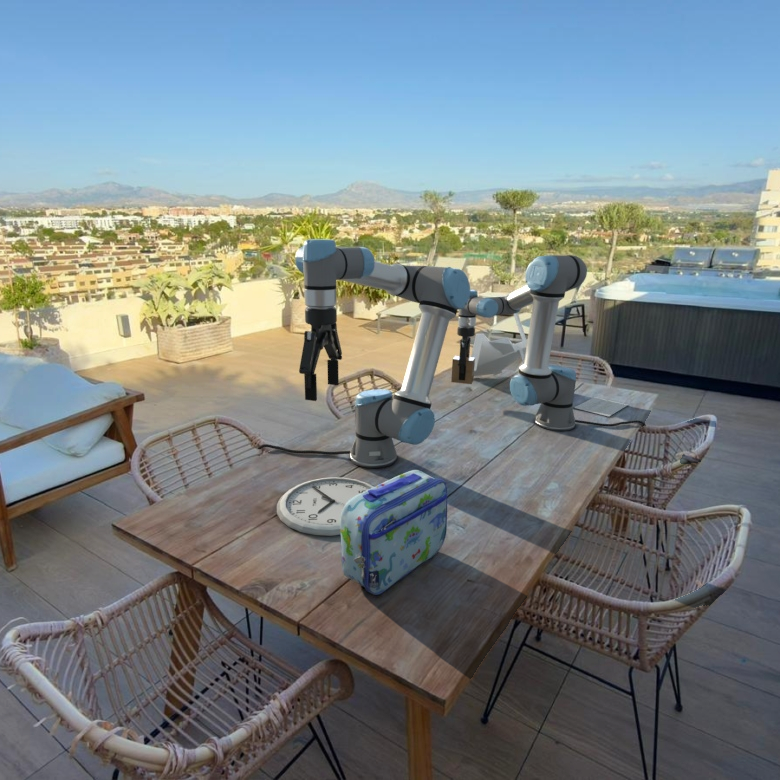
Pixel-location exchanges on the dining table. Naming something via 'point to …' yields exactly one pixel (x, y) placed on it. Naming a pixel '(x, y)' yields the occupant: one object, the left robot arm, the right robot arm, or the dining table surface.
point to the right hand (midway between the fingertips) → (463, 377)
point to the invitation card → (601, 406)
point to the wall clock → (318, 504)
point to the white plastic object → (497, 352)
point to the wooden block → (469, 370)
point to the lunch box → (393, 529)
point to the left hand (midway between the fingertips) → (322, 392)
